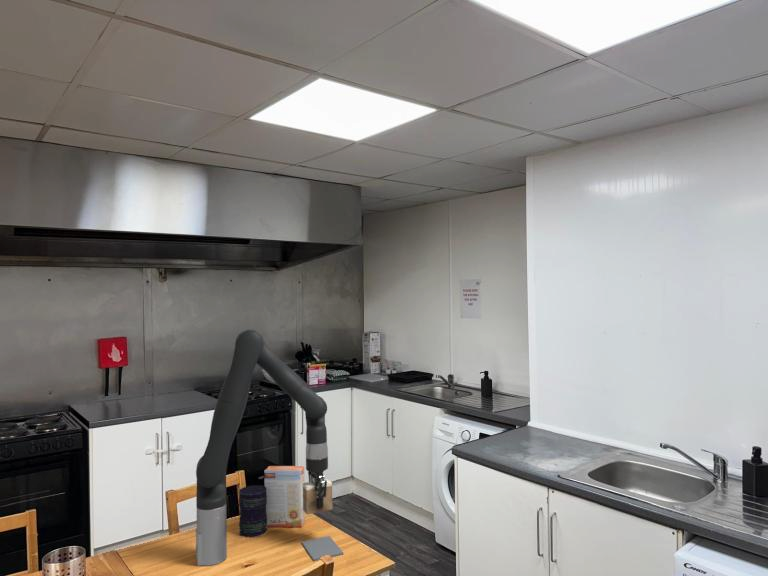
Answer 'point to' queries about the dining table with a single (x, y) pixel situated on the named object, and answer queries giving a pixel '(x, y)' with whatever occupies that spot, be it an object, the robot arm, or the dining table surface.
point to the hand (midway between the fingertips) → (317, 505)
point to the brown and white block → (310, 498)
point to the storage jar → (253, 511)
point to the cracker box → (284, 496)
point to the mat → (322, 547)
